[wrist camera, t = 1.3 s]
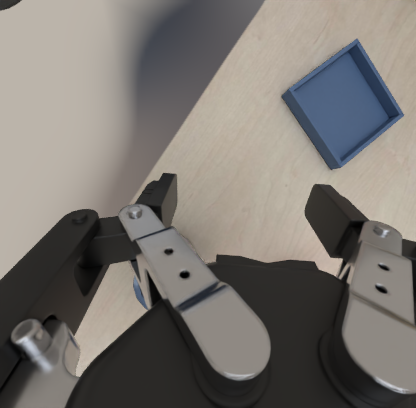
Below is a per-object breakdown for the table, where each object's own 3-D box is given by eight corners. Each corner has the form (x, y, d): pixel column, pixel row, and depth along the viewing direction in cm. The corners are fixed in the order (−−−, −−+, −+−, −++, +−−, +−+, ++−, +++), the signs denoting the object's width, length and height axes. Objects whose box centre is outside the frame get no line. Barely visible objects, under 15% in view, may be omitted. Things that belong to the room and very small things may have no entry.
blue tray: (281, 96, 30) (288, 88, 28) (346, 48, 31) (357, 38, 29) (330, 169, 31) (341, 167, 29) (390, 120, 32) (404, 115, 30)
